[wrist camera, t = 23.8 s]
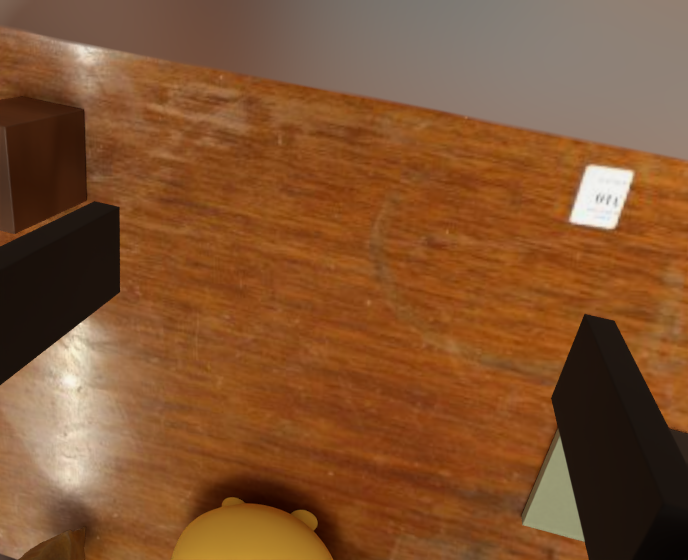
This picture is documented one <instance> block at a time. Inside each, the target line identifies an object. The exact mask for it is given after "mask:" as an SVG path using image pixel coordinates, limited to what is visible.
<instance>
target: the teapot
mask: <svg viewBox="0 0 688 560" xmlns="http://www.w3.org/2000/svg"><path fill="white" fill-rule="evenodd" d="M317 525H318V521H317V519H316V517H315V516H314V515H313V514H312V513H310V512H308V511H306V510H296V511H293V512H292V513H291V514H289V513H287V512H285V511H282V510H280V509H277V508H274V507H270V506H266V505H261V504H251V503H245V502H244V501H242V500H240V499H238V498H234V497H229V498H226V499H225V500H224V501H223V502H222V507H220V508H217V509H214V510H211V511H208V512H206V513H204V514H202V515H200V516H199V517H197V518H196V519H195V520H193V521H192V522H191V523H190V524H189V525H188V526H187V527H186V528H185V529H184V531H183V532H182V534H181V536H180V538H179V540H178V542H177V544H176V546H175V549H174V552H173V555H172V558H171V560H333V558H332V556H331V554H330V553H329V551H328V549H327V548H326V546H325V545H324V543H323V542H322V541H321V539H320V538H319V537H318V536H317V534H316V533H315V532H314V530H315V529H316V527H317Z"/></svg>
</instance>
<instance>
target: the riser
mask: <svg viewBox="0 0 688 560" xmlns="http://www.w3.org/2000/svg"><path fill="white" fill-rule="evenodd" d="M84 201H86V168H85V135H84V110H83V109H79V108H74V107H69V106H65V105H60V104H55V103H51V102H46V101H41V100H37V99H32V98H27V97H23V96H21V97H14V98H8V99H2V100H0V231H4V232H9V233H13V234H16V233H18V232H20V231H22V230H24V229H27V228H29V227H31V226H33V225H35V224H37V223H39V222H42V221H44V220H46V219H48V218H50V217H52V216H54V215H57V214H59V213H61V212H63V211H65V210H67V209H69V208H72V207H74V206H76V205H78V204H80V203H82V202H84Z"/></svg>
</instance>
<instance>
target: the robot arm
mask: <svg viewBox="0 0 688 560" xmlns="http://www.w3.org/2000/svg"><path fill="white" fill-rule="evenodd" d="M119 292H120V218H119V207H117V206H113V205H108V204H104V203H100V202H95V201H94V202H92V203H90V204H88V205H86V206H84V207H82V208H80V209H78V210H76V211H73V212H71V213H69V214H67V215H65V216H63V217H61V218H59V219H57V220H55V221H53V222H51V223H48V224H46V225H44V226H42V227H40V228H38V229H36V230H34V231H32V232H30V233H28V234H25V235H23V236H21V237H19V238H17V239H15V240H13V241H11V242H9V243H7V244H5V245H3V246H0V385H1V384H2V383H4V382H5V381H6V380H8V379H9V378H10V377H11V376H13V375H14V374H15V373H17V372H18V371H19V370H20V369H22V368H23V367H24V366H26V365H27V364H28V363H29V362H31V361H32V360H33V359H34V358H36V357H37V356H38V355H40V354H41V353H42V352H43V351H45V350H46V349H47V348H49V347H50V346H51V345H52V344H54V343H55V342H56V341H58V340H59V339H60V338H61V337H63V336H64V335H65V334H67V333H68V332H69V331H70V330H72V329H73V328H74V327H76V326H77V325H78V324H79V323H81V322H82V321H83V320H85V319H86V318H87V317H88V316H90V315H91V314H92V313H94V312H95V311H96V310H97V309H99V308H100V307H101V306H103V305H104V304H105V303H106V302H108V301H109V300H110V299H112V298H113V297H114V296H115V295H117V294H118V293H119ZM551 399H552V404H553V408H554V412H555V416H556V421H557V425H558V429H559V433H560V438H561V442H562V446H563V451H564V455H565V459H566V463H567V468H568V472H569V476H570V480H571V485H572V489H573V493H574V498H575V502H576V506H577V510H578V515H579V519H580V523H581V528H582V532H583V536H584V540H585V545H586V549H587V553H588V557H589V560H688V434H687V433H683V432H679V431H675V430H671V429H669V428H668V426H667V424H666V422H665V420H664V418H663V416H662V414H661V412H660V410H659V408H658V406H657V404H656V402H655V400H654V398H653V396H652V394H651V392H650V390H649V388H648V386H647V384H646V382H645V380H644V378H643V376H642V374H641V372H640V370H639V368H638V366H637V364H636V362H635V361H634V359H633V357H632V355H631V353H630V351H629V349H628V347H627V345H626V343H625V341H624V339H623V337H622V335H621V333H620V331H619V329H618V327H617V325H616V323H615V321H613V320H609V319H604V318H600V317H596V316H591V315H587V314H584V317H583V319H582V322H581V324H580V327H579V329H578V332H577V335H576V337H575V340H574V342H573V345H572V347H571V350H570V352H569V355H568V357H567V360H566V362H565V365H564V367H563V370H562V372H561V375H560V377H559V380H558V382H557V385H556V387H555V390H554V392H553V395H552V398H551Z"/></svg>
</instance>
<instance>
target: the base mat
mask: <svg viewBox="0 0 688 560" xmlns="http://www.w3.org/2000/svg"><path fill="white" fill-rule="evenodd" d="M522 525H525V526H528V527H532V528H536V529H540V530H543V531H547V532H551V533H554V534H558V535H562V536H566V537H569V538H573V539H577V540H580V541H584V542H585V540H584V536H583V532H582V528H581V523H580V519H579V515H578V510H577V506H576V502H575V498H574V493H573V489H572V485H571V480H570V476H569V472H568V468H567V463H566V459H565V455H564V451H563V446H562V442H561V438H560V433H559V429H557V432H556V434H555V436H554V439H553V441H552V444H551V446H550V448H549V451H548V453H547V456H546V458H545V460H544V463H543V465H542V468H541V470H540V473H539V475H538V477H537V480H536V482H535V485H534V487H533V489H532V492H531V494H530V497H529V499H528V501H527V504H526V506H525V509H524V511H523V513H522Z"/></svg>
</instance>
